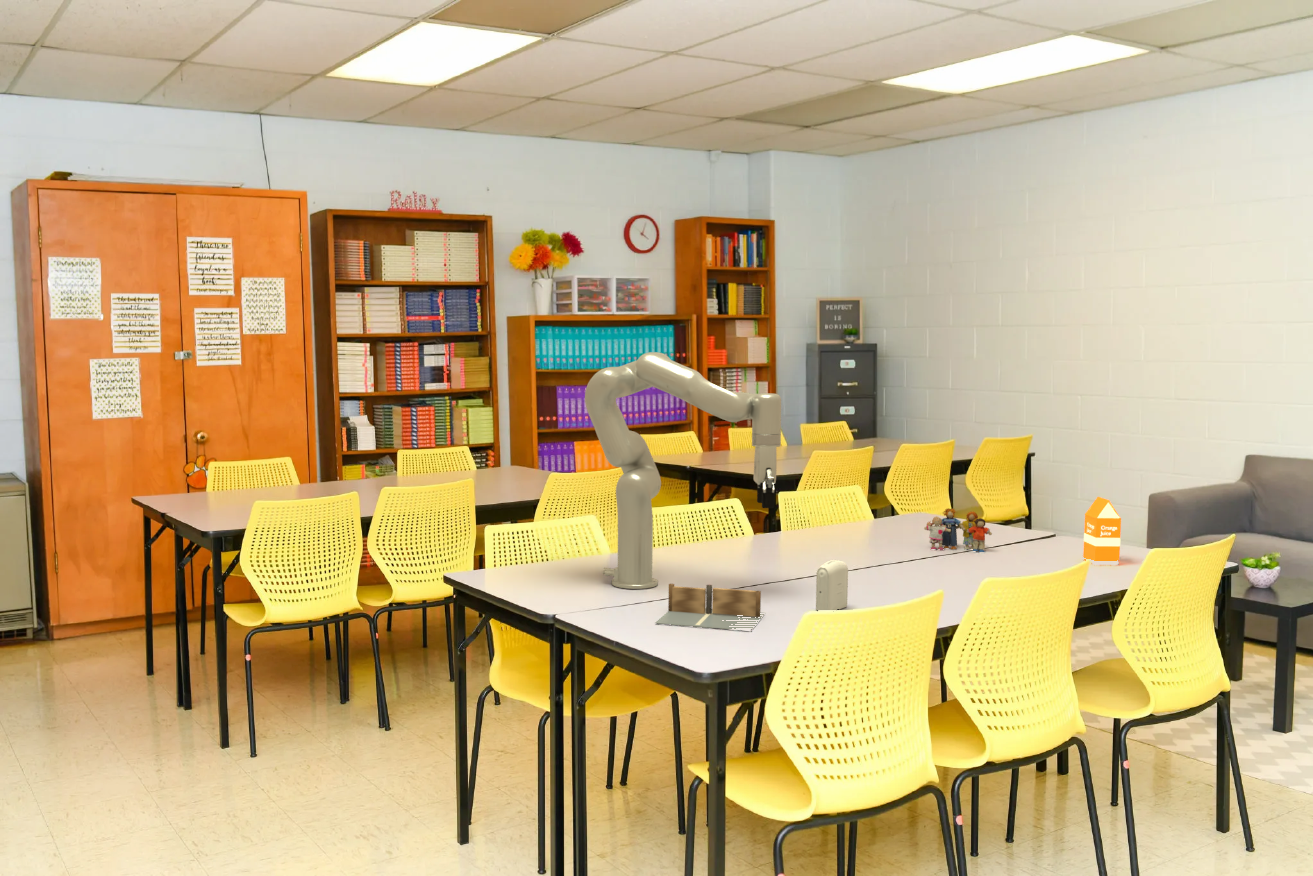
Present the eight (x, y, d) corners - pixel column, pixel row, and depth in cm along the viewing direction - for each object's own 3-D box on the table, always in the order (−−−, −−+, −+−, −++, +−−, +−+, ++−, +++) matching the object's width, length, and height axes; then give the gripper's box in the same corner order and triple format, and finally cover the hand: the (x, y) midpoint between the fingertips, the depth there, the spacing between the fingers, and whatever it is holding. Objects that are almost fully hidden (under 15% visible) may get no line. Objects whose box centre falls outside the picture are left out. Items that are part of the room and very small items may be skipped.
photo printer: (828, 614, 276) (829, 564, 275) (813, 611, 279) (814, 562, 278) (849, 607, 284) (850, 559, 283) (834, 604, 286) (836, 556, 285)
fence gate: (712, 613, 273) (712, 588, 273) (713, 611, 275) (713, 587, 274) (759, 616, 270) (760, 592, 270) (760, 615, 271) (761, 591, 271)
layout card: (654, 624, 264) (654, 622, 264) (674, 607, 282) (674, 605, 282) (751, 631, 258) (751, 630, 258) (765, 614, 276) (765, 612, 276)
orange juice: (1107, 560, 351) (1110, 496, 349) (1119, 565, 342) (1122, 500, 340) (1082, 560, 351) (1085, 496, 349) (1094, 565, 342) (1097, 500, 340)
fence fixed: (667, 611, 276) (668, 582, 276) (669, 609, 278) (669, 581, 277) (711, 614, 273) (711, 586, 273) (712, 613, 275) (712, 584, 274)
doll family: (923, 550, 365) (924, 509, 364) (923, 544, 374) (924, 505, 373) (991, 553, 360) (993, 512, 359) (989, 548, 370) (990, 508, 369)
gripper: (748, 437, 303) (747, 500, 305) (756, 443, 286) (755, 510, 287) (775, 437, 304) (775, 500, 305) (785, 443, 286) (784, 510, 288)
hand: (765, 505), depth 296 cm, fingers open, 9 cm apart
